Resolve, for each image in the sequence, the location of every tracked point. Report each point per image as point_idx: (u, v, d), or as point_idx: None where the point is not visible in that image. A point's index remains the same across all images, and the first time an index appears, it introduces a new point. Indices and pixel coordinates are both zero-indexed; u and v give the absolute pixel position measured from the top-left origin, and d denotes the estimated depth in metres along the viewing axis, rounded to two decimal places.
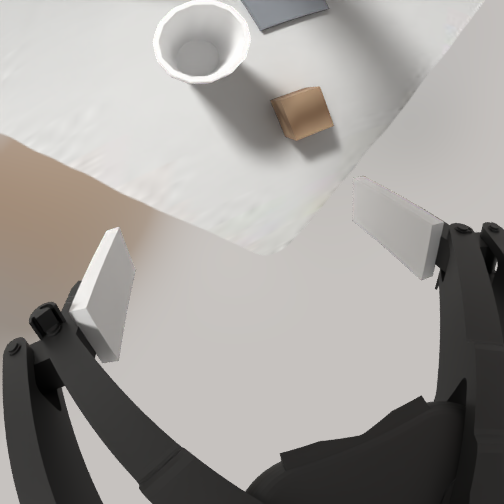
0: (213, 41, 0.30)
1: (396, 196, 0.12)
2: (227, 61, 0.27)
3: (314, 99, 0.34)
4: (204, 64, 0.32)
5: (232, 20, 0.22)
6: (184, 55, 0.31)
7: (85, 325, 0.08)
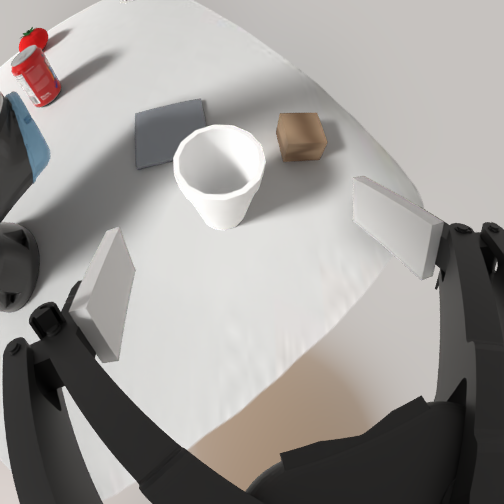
0: (211, 188, 0.40)
1: (396, 196, 0.12)
2: (242, 165, 0.34)
3: (291, 120, 0.40)
4: None
5: (206, 138, 0.30)
6: None
7: (85, 325, 0.08)
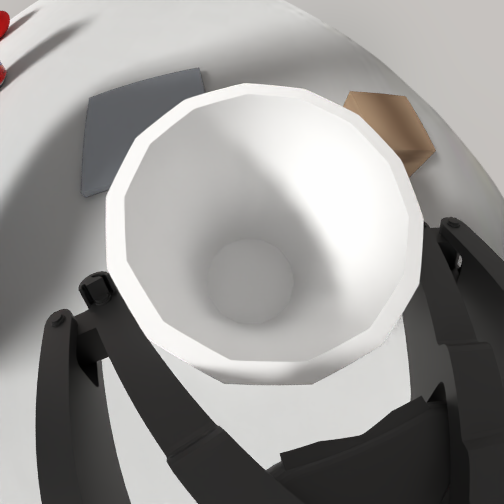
0: (225, 239, 0.19)
1: None
2: (307, 201, 0.14)
3: (371, 104, 0.19)
4: (268, 270, 0.20)
5: (221, 124, 0.10)
6: (234, 303, 0.19)
7: None
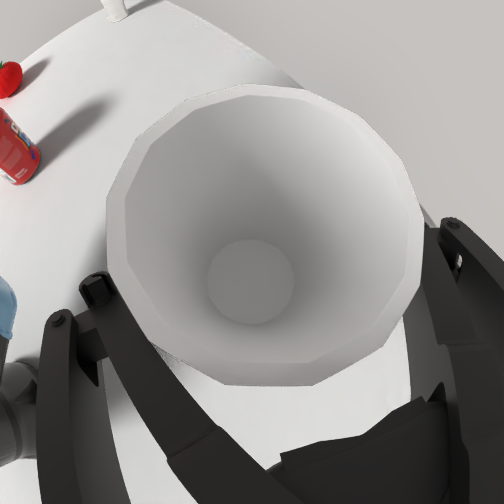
0: (226, 240, 0.19)
1: None
2: (308, 202, 0.14)
3: None
4: (268, 271, 0.20)
5: (221, 125, 0.10)
6: (234, 304, 0.19)
7: None
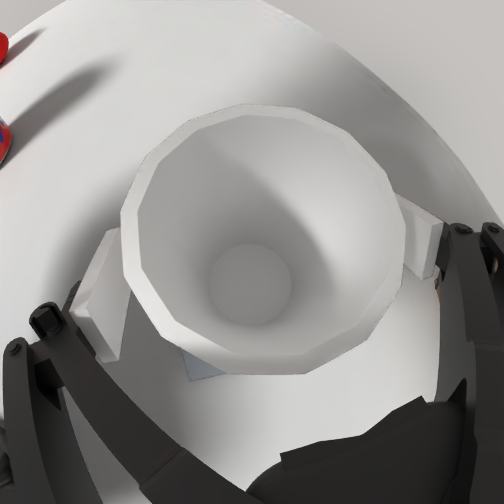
0: (226, 245, 0.20)
1: (396, 196, 0.12)
2: (302, 210, 0.15)
3: None
4: (266, 274, 0.21)
5: (222, 142, 0.11)
6: (235, 305, 0.20)
7: (85, 325, 0.08)
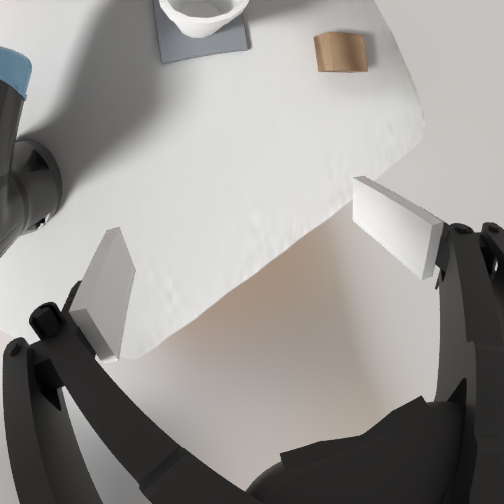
0: (189, 1, 0.26)
1: (396, 196, 0.12)
2: None
3: (338, 41, 0.31)
4: (209, 14, 0.29)
5: None
6: None
7: (85, 325, 0.08)
